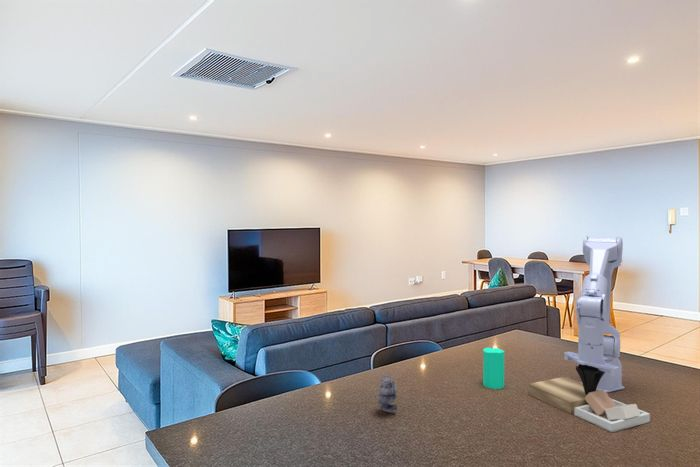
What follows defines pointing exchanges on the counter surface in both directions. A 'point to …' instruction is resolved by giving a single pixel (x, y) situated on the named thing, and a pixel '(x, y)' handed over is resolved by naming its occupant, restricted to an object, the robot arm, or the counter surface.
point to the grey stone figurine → (387, 394)
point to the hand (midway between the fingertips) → (590, 394)
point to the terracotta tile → (599, 401)
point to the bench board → (560, 393)
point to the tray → (610, 425)
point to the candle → (493, 368)
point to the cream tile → (622, 412)
